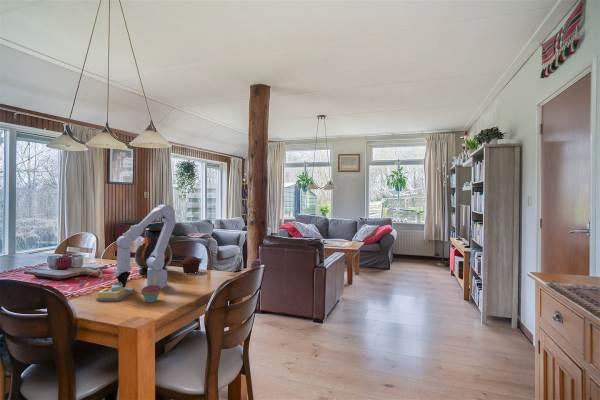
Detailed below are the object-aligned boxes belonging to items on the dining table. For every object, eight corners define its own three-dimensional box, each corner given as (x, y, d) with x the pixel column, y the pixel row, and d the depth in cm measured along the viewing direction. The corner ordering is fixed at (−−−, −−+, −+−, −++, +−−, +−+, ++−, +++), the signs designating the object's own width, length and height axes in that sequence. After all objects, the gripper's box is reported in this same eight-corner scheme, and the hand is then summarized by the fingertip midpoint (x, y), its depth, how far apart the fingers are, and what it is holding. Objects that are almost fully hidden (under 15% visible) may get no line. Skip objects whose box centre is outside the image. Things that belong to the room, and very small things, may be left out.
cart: (112, 291, 154) (112, 282, 154) (122, 290, 156) (122, 281, 156) (111, 294, 149) (111, 285, 149) (122, 293, 151) (122, 284, 151)
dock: (134, 290, 160) (134, 283, 160) (119, 300, 144) (119, 292, 144) (113, 290, 159) (114, 283, 159) (96, 300, 143) (96, 292, 143)
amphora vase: (137, 269, 207) (139, 226, 207) (173, 268, 213) (174, 226, 213) (130, 277, 186) (132, 229, 186) (170, 275, 192) (171, 229, 192)
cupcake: (155, 296, 152) (156, 271, 152) (164, 300, 146) (165, 274, 146) (137, 300, 145) (138, 274, 145) (146, 305, 140) (146, 277, 140)
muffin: (180, 271, 205) (181, 255, 205) (198, 269, 211) (198, 254, 211) (183, 275, 195) (183, 259, 195) (201, 273, 200) (202, 257, 200)
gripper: (122, 257, 165) (121, 283, 165) (107, 262, 150) (106, 291, 150) (136, 257, 166) (135, 283, 166) (123, 263, 151) (122, 291, 151)
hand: (122, 287), depth 158 cm, fingers closed
